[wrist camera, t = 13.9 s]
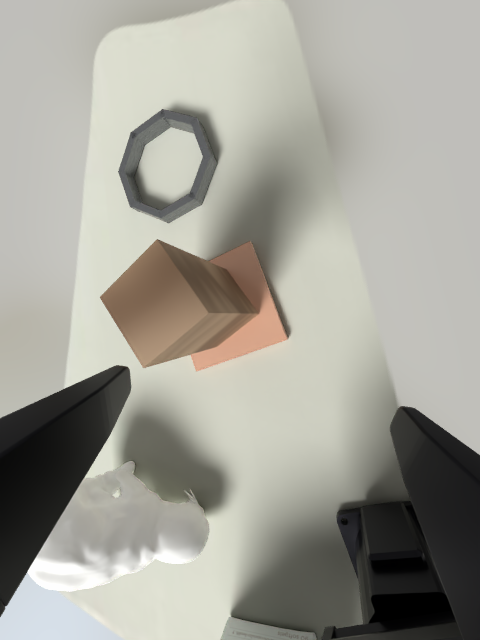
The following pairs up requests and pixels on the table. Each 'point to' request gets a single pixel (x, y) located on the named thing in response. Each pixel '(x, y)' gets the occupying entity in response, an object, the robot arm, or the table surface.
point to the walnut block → (175, 304)
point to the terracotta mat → (255, 287)
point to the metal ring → (133, 154)
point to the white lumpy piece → (117, 533)
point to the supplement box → (261, 632)
